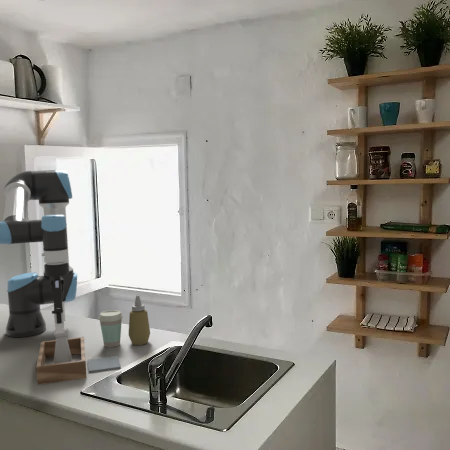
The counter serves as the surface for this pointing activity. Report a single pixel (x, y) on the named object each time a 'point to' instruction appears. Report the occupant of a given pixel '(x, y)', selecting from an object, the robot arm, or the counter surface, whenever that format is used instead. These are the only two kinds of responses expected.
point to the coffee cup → (111, 327)
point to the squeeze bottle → (138, 323)
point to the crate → (61, 370)
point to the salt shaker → (62, 348)
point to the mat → (103, 364)
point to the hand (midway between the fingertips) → (60, 326)
